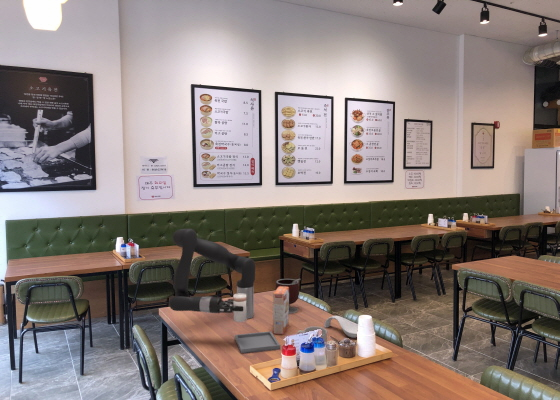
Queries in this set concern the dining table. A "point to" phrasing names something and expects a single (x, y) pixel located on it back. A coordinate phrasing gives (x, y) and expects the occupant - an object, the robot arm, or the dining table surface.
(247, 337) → the tray
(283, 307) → the cracker box
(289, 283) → the mate gourd
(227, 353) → the dining table surface
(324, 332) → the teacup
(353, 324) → the spoon rest
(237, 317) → the salt shaker
